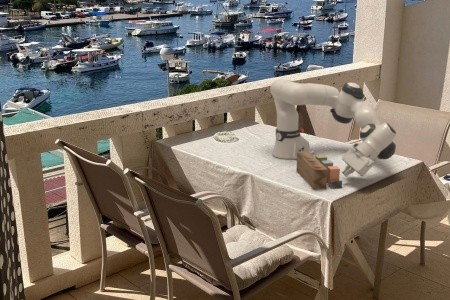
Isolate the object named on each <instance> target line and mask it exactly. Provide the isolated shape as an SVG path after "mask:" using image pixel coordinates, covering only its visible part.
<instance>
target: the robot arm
mask: <svg viewBox="0 0 450 300" xmlns="http://www.w3.org/2000/svg"><path fill="white" fill-rule="evenodd" d="M269 89H270V90H269V92H270V94H271V95H272V97H273V101H274V105H275V110H276V129H275V140H274V141H275V142H274V148H273V152H272V155H273V156H274V157H276V158H279V159H286V160H289V159H290V160H297V153H300V152H310V153H311V154H312V155H313V154H315V151H314V150H313V149H311V148H310V142H309V141H308V140H307V139H306V138H305V137H303V136H302V135H301V134H305V129H304V128H303V129H302V128H299V117H300V116H299V113H298V111H297V108H296V106H306V105H310V106H321V107H322V106H324V107H325V106H327V107H330V108H331V109H330V113H331V116H332V117H333V119H334V120H335V121H336V122H338V123H340V124H344V125H345V124H350V123H351V122H352V121H353V119H354V122H355V123H356V125H357V126H358V127H359V128H360V130H359V138H360V140H361V142H357V143H356V142H355V143H353V144H352V145H351V148H349V149H348V150H347V151H346V152H345V153H344V154H343V156H342V158H341V160H342V161H343V162H344V163H345V164H346V165H345V167H344V169H343V170H342V171H341V174H342V175H343V176H345V177H348V176H350V175H351V174H352V173H354V172H356V173H357V174H358V175H360V176H361V177H364V176H365V175H366V174H367V173H368V172H369V170H371V169H372V167H373V165H374V163H375V158H377V159H378V160H388V159H390V158H392V157H393V156H394V155H395V152H396V149H397V148H396V147H397V146H396V145H397V144H396V143H395V142H394V141H393V140H394V139H395V138H396V137H397V132H396V130H395V129H394V128H393V126H391V124H389V123H388V122H383V123H381V120H380V119H379V116H378V113H377V111H376V109H375V107H374V106H373V105H372V104H371V103H370V102H368V101H365V100H364V98H365V97H366V95H365V94H364V91H363V88H362V87H361V85H359V84H358V83H355V82H351V81H350V82H345V83H344V84H343V85H342V87H341V90H340V91H339V89H338V88H336V87H335V86H332V85H327V84H323V83H322V84H321V83H311V82H307V83H300V82H295V81H291V80H287V79H284V78H281V79H276V80H274V81H273V82H272V83H271V85H270V88H269Z"/></svg>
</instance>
